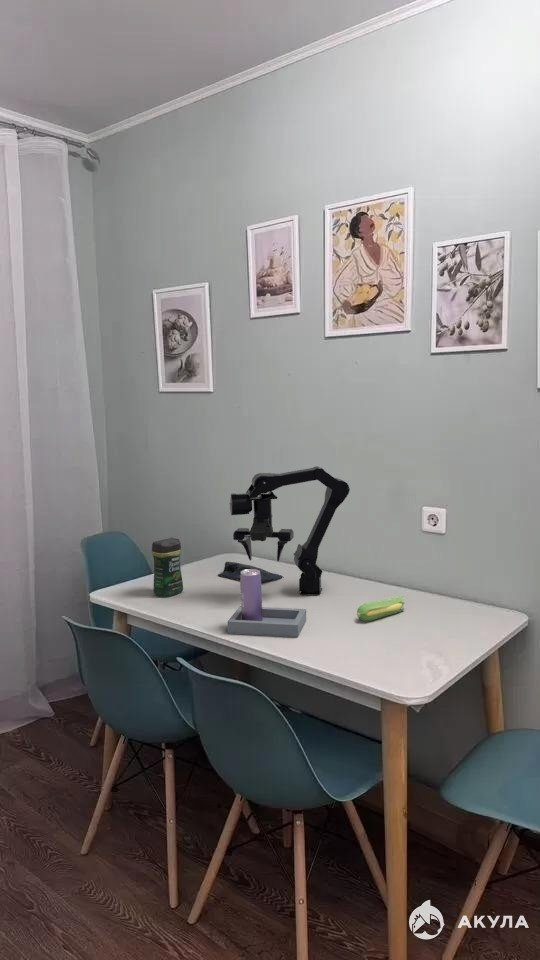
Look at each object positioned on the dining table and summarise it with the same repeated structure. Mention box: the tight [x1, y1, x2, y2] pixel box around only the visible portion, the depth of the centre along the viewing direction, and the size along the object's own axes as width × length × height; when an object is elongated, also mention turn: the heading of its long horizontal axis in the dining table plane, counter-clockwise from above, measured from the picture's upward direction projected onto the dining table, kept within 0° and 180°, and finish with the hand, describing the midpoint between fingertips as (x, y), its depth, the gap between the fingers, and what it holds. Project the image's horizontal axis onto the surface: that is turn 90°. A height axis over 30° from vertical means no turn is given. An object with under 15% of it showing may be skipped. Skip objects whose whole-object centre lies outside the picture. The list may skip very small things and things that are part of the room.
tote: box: [226, 605, 307, 638], centre depth 199 cm, size 20×13×4 cm, turn 77°
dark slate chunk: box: [217, 561, 284, 584], centre depth 249 cm, size 15×22×5 cm
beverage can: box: [239, 569, 263, 621], centre depth 199 cm, size 6×6×15 cm
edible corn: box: [356, 596, 406, 622], centre depth 205 cm, size 5×20×5 cm
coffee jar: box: [151, 537, 184, 598], centre depth 231 cm, size 10×8×19 cm
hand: (264, 560), depth 224 cm, fingers open, 9 cm apart
